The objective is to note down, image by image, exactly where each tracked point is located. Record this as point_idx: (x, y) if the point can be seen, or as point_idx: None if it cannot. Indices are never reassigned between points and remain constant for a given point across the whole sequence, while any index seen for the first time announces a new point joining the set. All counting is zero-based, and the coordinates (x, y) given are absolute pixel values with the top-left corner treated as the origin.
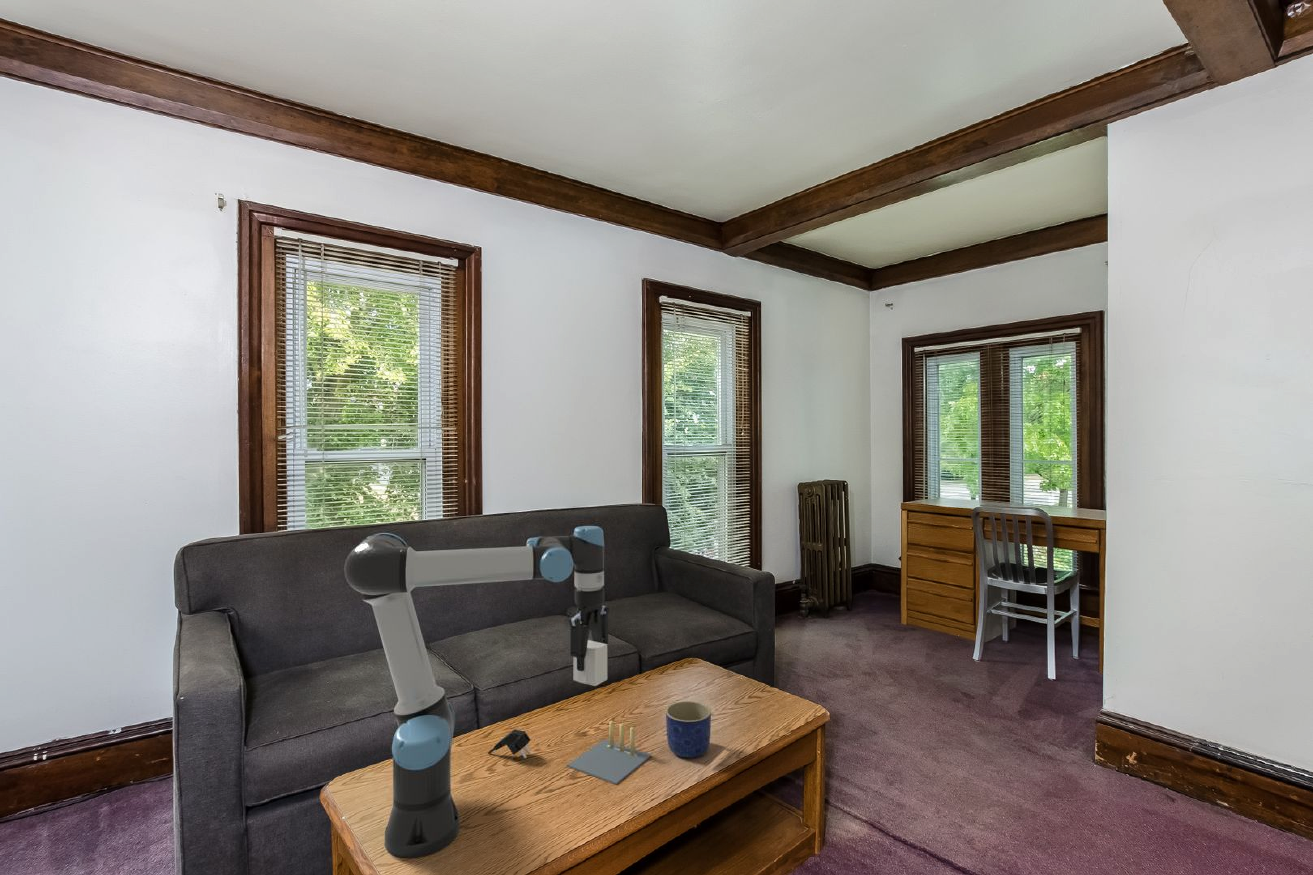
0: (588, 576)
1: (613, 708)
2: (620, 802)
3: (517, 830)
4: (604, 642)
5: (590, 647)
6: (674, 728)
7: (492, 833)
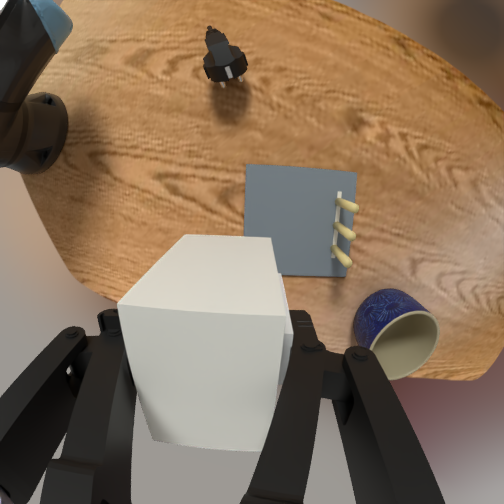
0: None
1: (449, 130)
2: None
3: (90, 217)
4: (333, 398)
5: (162, 415)
6: (365, 336)
7: (72, 195)
